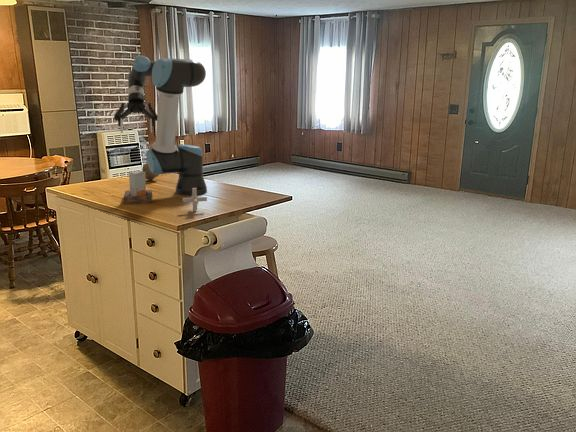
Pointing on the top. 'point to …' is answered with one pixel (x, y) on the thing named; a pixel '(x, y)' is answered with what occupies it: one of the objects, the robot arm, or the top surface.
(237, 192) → the top surface
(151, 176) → the natural sponge
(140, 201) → the socket
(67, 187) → the top surface
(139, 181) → the skincare box
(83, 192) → the top surface
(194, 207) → the pipe connector
